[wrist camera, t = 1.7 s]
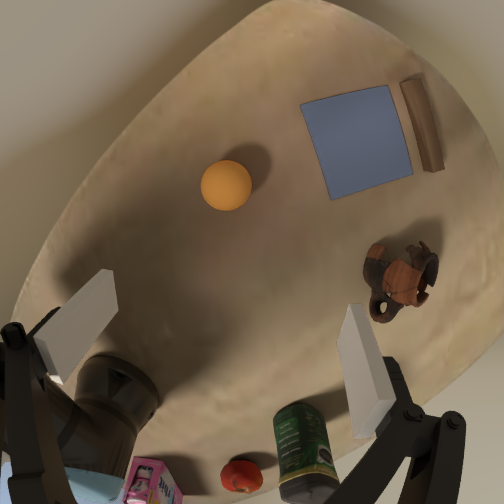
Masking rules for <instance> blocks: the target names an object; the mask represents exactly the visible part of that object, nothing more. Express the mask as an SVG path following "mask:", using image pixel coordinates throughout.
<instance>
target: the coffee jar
mask: <svg viewBox="0 0 504 504" xmlns="http://www.w3.org/2000/svg"><path fill="white" fill-rule="evenodd" d="M273 425H274V433H275V439H276V444H277V451H278V459H279V467H280V479H279V490H280V495H281V499H282V500H283V501H284V502H287V503H290V504H322V503H323V502H324V501H325V500H326V499H327V498H328V497H329V496H330V495H331V494H332V493H333V492H334V491H335V489H336V488H337V487H338V486H339V485H340V482H339V478H338V476H337V473H336V470H335V468H334V464H333V459H332V454H331V449H330V445H329V439H328V434H327V429H326V424H325V420H324V417H323V416H322V415H321V414H320V413H319V412H318V411H316V410H315V409H313V408H312V407H310V406H308V405H306V404H296V405H292V406H289V407H286V408H284V409H283V410H281V411H280V412H279V413H277V414H276V415H275V416H274V418H273Z"/></svg>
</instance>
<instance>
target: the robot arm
mask: <svg viewBox="0 0 504 504" xmlns="http://www.w3.org/2000/svg"><path fill="white" fill-rule="evenodd" d="M118 311H119V310H118V304H117V297H116V291H115V283H114V276H113V271H112V270H106V269H101V270H100V271H99V272H98V273H97V274H96V275H95V276H94V277H92V278H91V279H90V280H89V281H88V282H87V283H86V284H85V285H84V286H83V287H82V288H81V289H80V290H79V291H78V292H77V293H75V294H74V295H73V296H72V297H71V298H70V299H69V300H68V301H67V302H66V303H65V304H64V305H63V306H62V307H57V308H55V309H53V310H51V311H50V312H49V313H48V314H47V315H46V316H45V318H43V319H42V320H41V322H39V323H38V324H37V325H36V326H35V327H34V328H33V329H32V330H31V331H30V332H29V333H28V334H27V335H26V333H25V330H24V327H23V325H22V324H21V323H19V322H11V323H9V324H7V325H5V326H4V327H3V328H2V329H1V332H0V334H1V336H2V339H3V341H4V342H0V476H1V467H2V466H3V464H4V463H5V462H11V467H12V474H13V475H12V477H9V478H8V489H9V493H10V498H11V502H12V504H78V503H77V502H76V500H75V498H74V496H75V497H78V498H81V499H84V500H88V501H92V502H97V503H111V502H113V501H115V500H116V499H117V498H118V496H119V493H120V491H121V488H122V486H123V484H124V483H125V480H124V479H125V475H126V472H127V468H128V465H129V461H130V458H131V454H132V451H133V448H134V444H135V441H136V438H137V435H138V433H139V432H140V431H141V429H142V428H143V427H144V426H145V425H146V424H147V422H148V421H149V420H150V419H151V418H152V417H153V415H154V414H155V412H156V409H157V405H158V401H159V397H158V392H157V390H156V388H155V386H154V384H153V383H152V382H151V380H150V379H149V378H148V377H147V376H146V375H145V374H144V373H143V372H141V371H140V370H139V369H137V368H136V367H134V366H133V365H131V364H129V363H127V362H125V361H122V360H120V359H117V358H113V357H108V356H96V357H92V358H90V359H88V360H87V361H86V362H85V363H84V364H83V366H82V368H81V369H80V371H79V373H78V377H77V386H76V392H75V399H74V401H73V400H72V399H71V398H70V397H69V396H68V395H67V394H66V393H65V392H64V391H63V390H62V389H61V388H60V387H59V386H58V385H57V384H56V383H55V382H57V383H60V384H62V385H64V383H65V382H66V380H67V379H68V378H69V376H70V375H71V373H72V372H73V371H74V369H75V368H76V366H77V365H78V364H79V362H80V361H81V359H82V358H83V357H84V355H85V354H86V353H87V351H88V350H89V349H90V347H91V346H92V344H93V343H94V342H95V340H96V339H97V338H98V336H99V335H100V334H101V333H102V331H103V330H104V329H105V327H106V326H107V325H108V323H109V322H110V321H111V320H112V318H113V317H114V316H115V314H116V313H117V312H118ZM337 347H338V352H339V357H340V362H341V367H342V372H343V377H344V383H345V388H346V394H347V400H348V405H349V411H350V418H351V424H352V430H353V437H354V439H360V438H370V437H371V436H372V435H373V433H374V432H376V436H377V439H376V440H375V441H374V443H373V444H372V445H371V447H370V448H369V449H368V451H367V452H366V453H365V455H364V456H363V457H362V459H361V460H360V461H359V463H358V464H357V465H356V466H355V467H354V469H353V470H352V471H351V472H350V473H349V475H348V476H347V477H346V478H345V479H344V480H343V482H342V483H341V484H340V485H339V486H338V487H337V488H336V489H335V491H334V492H333V493H332V494H331V495H330V496H329V497H328V498H327V499H326V500H325V501H324V502H323V503H322V504H374V503H375V502H376V501H377V499H378V498H379V496H380V495H381V493H382V492H383V491H384V489H385V488H386V486H387V485H388V483H389V482H390V480H391V479H392V477H393V476H394V474H395V473H396V471H397V470H398V468H399V466H400V465H401V463H402V462H403V460H404V458H405V457H411V462H410V465H409V469H408V472H407V476H406V479H405V482H404V486H403V489H402V492H401V495H400V498H399V501H398V504H456V503H457V499H458V493H459V488H460V482H461V475H462V467H463V459H464V449H465V436H466V421H465V419H464V417H463V416H462V415H461V414H460V413H458V412H455V411H448V412H445V413H444V414H443V415H442V417H441V418H440V417H435V416H429V415H426V414H425V412H424V411H423V409H422V408H421V407H420V406H418V405H417V404H414V403H413V401H412V398H411V396H410V393H409V390H408V387H407V385H406V382H405V380H404V377H403V374H402V371H401V369H400V366H399V364H398V363H397V362H396V361H395V359H394V358H393V357H382V355H381V352H380V349H379V347H378V344H377V341H376V338H375V336H374V333H373V330H372V328H371V325H370V322H369V320H368V317H367V315H366V312H365V310H364V307H363V305H362V304H354V303H349V305H348V309H347V312H346V315H345V318H344V322H343V325H342V328H341V331H340V334H339V337H338V340H337ZM47 372H48V373H49V375H50V377H49V376H48V375H47V374H46V373H47ZM54 381H55V382H54Z"/></svg>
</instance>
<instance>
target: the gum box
mask: <svg viewBox="0 0 504 504" xmlns="http://www.w3.org/2000/svg"><path fill="white" fill-rule="evenodd" d="M182 498H183V495H182V493H181V491H180V490H179V488H178V486H177V484H176V483H175V481H174V480H173V477H172V476H171V474H170V472H169V470H168V469H167V467H166V465H165V463H164V461H160V460H153V459H146V458H139V457H134V458H133V461H132V465H131V468H130V472H129V476H128V479H127V483H126V487H125V491H124V495H123V500H122V501H123V502H124V504H182Z"/></svg>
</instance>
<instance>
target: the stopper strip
mask: <svg viewBox="0 0 504 504" xmlns="http://www.w3.org/2000/svg"><path fill="white" fill-rule="evenodd" d="M399 84H400V87H401V90H402V93H403V96H404V99H405V102H406V105H407V108H408V112H409V115H410V118H411V122H412V125H413V129H414V132H415V136H416V140H417V144H418V148H419V152H420V156H421V160H422V165H423V169H424V171H428V172H433V173H434V172H437V171H440V170H444V169H445V167H444V162H443V157H442V153H441V148H440V144H439V140H438V136H437V132H436V128H435V124H434V120H433V117H432V113H431V110H430V106H429V103H428V100H427V97H426V94H425V91H424V88H423V85H422V82H421V79H414V80H408V81H405V82H402V83H399Z"/></svg>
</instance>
